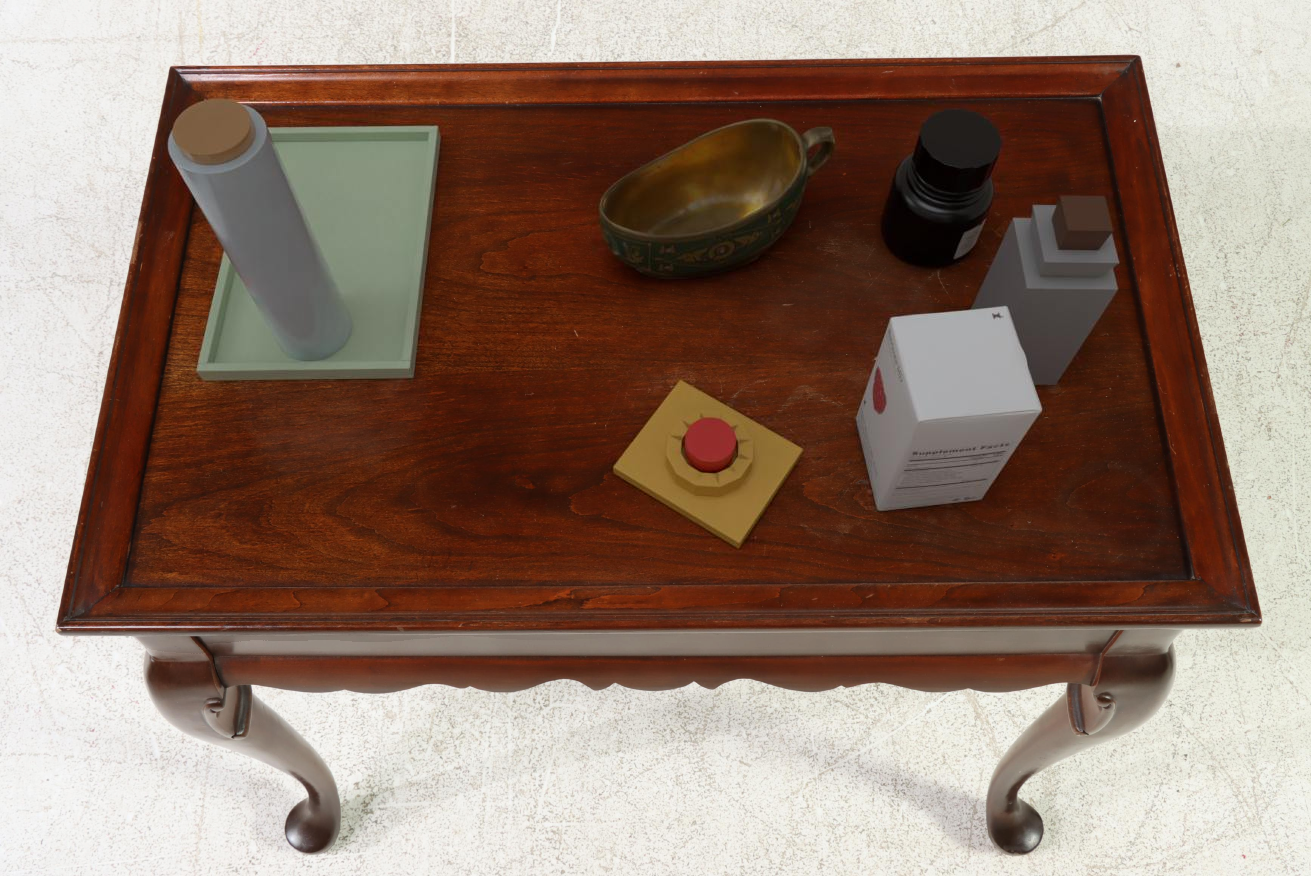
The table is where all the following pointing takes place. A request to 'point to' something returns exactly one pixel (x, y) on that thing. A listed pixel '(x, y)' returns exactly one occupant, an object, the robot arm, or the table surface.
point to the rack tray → (343, 254)
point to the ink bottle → (942, 189)
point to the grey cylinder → (261, 225)
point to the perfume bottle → (1054, 280)
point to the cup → (712, 199)
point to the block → (703, 496)
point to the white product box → (944, 407)
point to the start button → (710, 444)
